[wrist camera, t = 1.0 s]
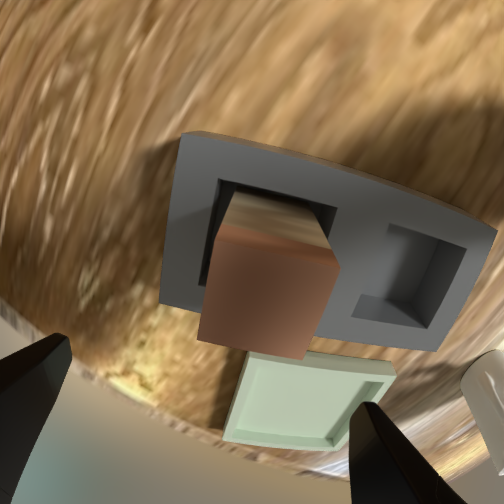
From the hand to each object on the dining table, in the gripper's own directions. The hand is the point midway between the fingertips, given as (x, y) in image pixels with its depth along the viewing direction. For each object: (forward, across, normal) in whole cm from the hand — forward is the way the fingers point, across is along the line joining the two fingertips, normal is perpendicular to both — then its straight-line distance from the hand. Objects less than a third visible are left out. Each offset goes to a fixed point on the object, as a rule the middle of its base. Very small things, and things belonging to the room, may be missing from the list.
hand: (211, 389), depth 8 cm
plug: (+11, -1, -1) cm, 11 cm away
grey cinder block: (+12, -5, -1) cm, 13 cm away
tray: (+12, -8, +14) cm, 20 cm away
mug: (+12, -26, +8) cm, 30 cm away
